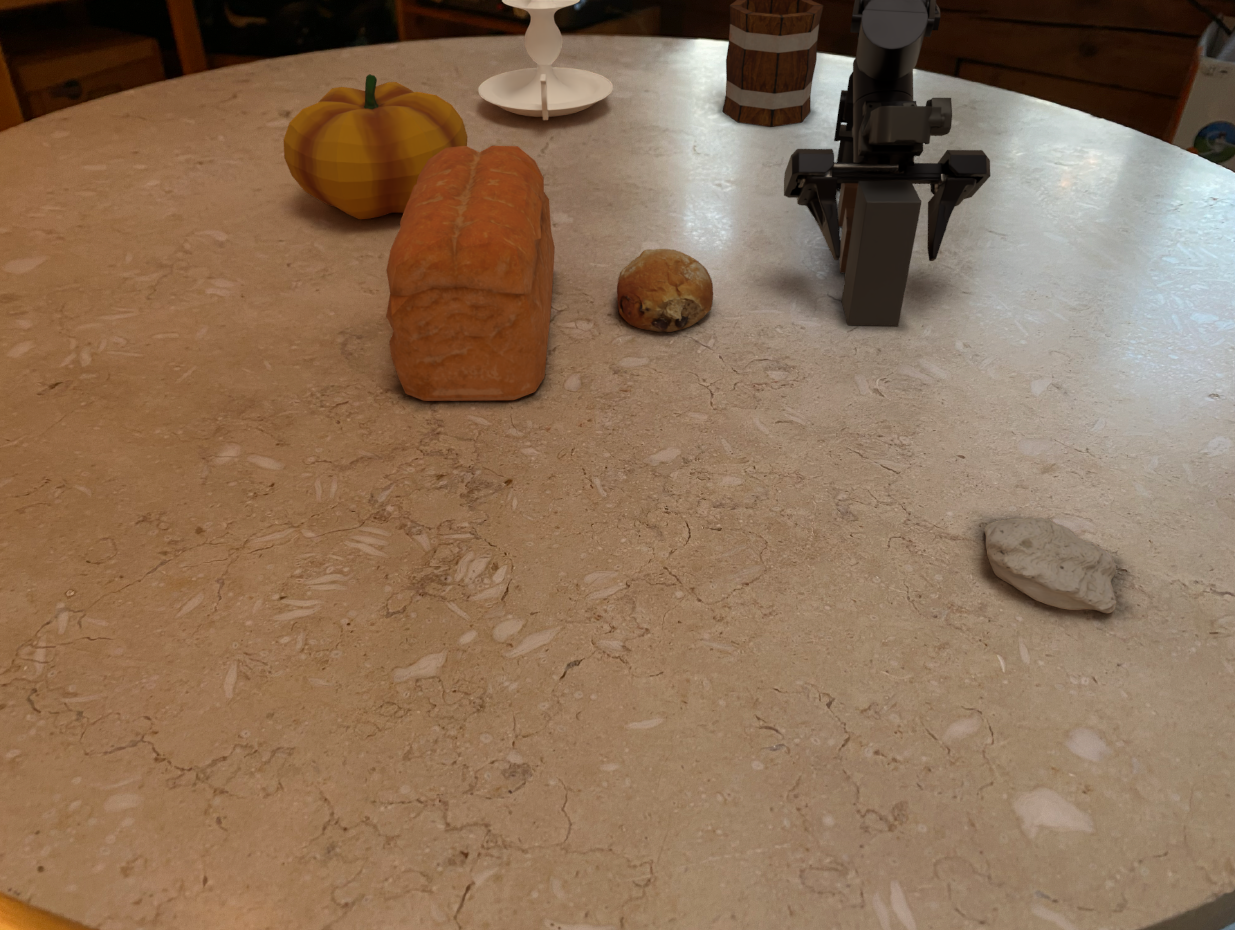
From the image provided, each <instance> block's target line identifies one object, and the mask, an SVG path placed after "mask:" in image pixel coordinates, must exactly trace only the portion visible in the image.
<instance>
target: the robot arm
mask: <svg viewBox="0 0 1235 930" xmlns="http://www.w3.org/2000/svg"><path fill="white" fill-rule="evenodd" d="M941 18H942V17H941V9H940V7H939V6H938V4H937V0H854V3H853V10H852V13H851V22H850V28H849V32H850V33H855V34H856V33H857V35H856V36H857V37H856V38H857V48H856V56H855V58H854V59H853V61H852V72H851V73H850V75H849V77H848V82H847V89H841V90H840V96H839V102H838V109H837V117H836V125H835V131H834V138H833V142H839V144H838V145H839V146H838V152H837V159H836V162H835V153H834V150H833V148H796V149H795V150H794V151H793V153H792V154H791V155H790V157H789V159H788V161H787V164H786V168H785V170H784V175H783V196H784V197H786V198H788V199H789V198H790V199H793V198H794V199H796V204H797V205H798V206H804V207H806V208H807V210H808V212H809V213H810V214H811V216H812V217H813V219H814V221H815V223H816V224H817V226H818V227H819V229H820V232H821V234H822V236H823V238H824V241H825V243H826V245H827V248H828V250H829V252H830V254H831V257H832V260H834V261H839V258H840V240H841V233H840V232H841V231H840V227H839V221H838V201H837V195H838V192H837V191H838V190H839V191H840V189H841V183H858V182H859V181H911V182H912V184H913V185H930V186H929V187H930V193H931V194H932V197H931V198H930V199H929V200H928V202H927V239H926V240H927V244H926V245H927V246H926V247H927V248H926V249H927V255H928V261H929V262H935V260H936V259H937V257H938V254H939V251H940V248H941V245H942V243H943V239H944V236H945V233H946V230H947V228H948V223H949V221H950V218H951V216H952V214H953V211H954V209H955V207H958V206H959V205H960V204H961V203H962V202H964V200H966V199H970V198H972V197H974V195H976V193H977V192H978V191H979V190H980V188H981V187H983V185H984V184H985V183H986V182H987V181H988V180H989V179H990V177H991V160H990V158H989V157H988V156H987V154H986V153H985V152H984V150H983V149H947V150H946V151H945V152H944V154H943V155H942V156H941V157H940V159H939V160H938V162H915V157H920V156H921V155H922V153H924V144H925V145H929V144H930V143H931V137H942V136H943V137H944V136H946V135H949V134H950V132H951V129H952V121H953V108H952V107H953V104H952V97H932V98H929V99H927V100H926V103H925V105H918V104H917V100H914V69H915V67H916V66H917V64H918V60H919V56H920V54H921V49H922V46H923V42H924V37H925V38H931V36H932V33H933V31H939V27H940V22H941Z"/></svg>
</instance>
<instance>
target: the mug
mask: <svg viewBox="0 0 1235 930" xmlns="http://www.w3.org/2000/svg"><path fill="white" fill-rule="evenodd" d="M728 7H729V35H728V45H727V52H726V57H725V75H726V76H725V77H726V79H725V80H726V81H725V96H724V101H723V106H722V113H723V114H725V115H726V116H728V117H729V118H731V119H732V120H734V121H735V122H737V123H739V124H740V123H741V124H746V125H747V124H748V125H754V126H762V127H767V128H773V127H780V126H788V125H794V124H801V123H803V122H804V120H805V119H806V118H807V117H808V116H809V114H810V113H811V107H812V106H811V105H812V104H811V102H812V101H811V99H812V98H811V96H812V87H813V79H814V75H815V69H816V66H817V65H816V64H817V58H818V57H817V55H818V37H819V29H820V22H821V17H822V14H823V10H824V5H823V4H821V3H819V2H816V1H813V0H735V1H733V2H732V3H731V4H730V5H728Z"/></svg>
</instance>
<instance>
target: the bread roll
mask: <svg viewBox="0 0 1235 930" xmlns="http://www.w3.org/2000/svg"><path fill="white" fill-rule="evenodd" d="M617 279H618V280H617V285H616V299H617V308H618V313H619V315H620V316H621V317H622V318H623V320H624V321H625V322H626V323H627V324H628V325H631V326H632V327H634V328H637V329H641V330H646V331H650V332H651V331H652V332H656V333H661V332H665V333H666V332H667V333H671V332H676V331H681V330H684V329H687V328H690V327H692V326H693V325H695V324H696V323H698V322H699V321H701V320H703V319H704V318H705V317H706V316H707V314H709V312H711V310H712V306H713V301H714V283H713V280H712V277H711V275H710V273H709V271H708V269H707V268H706V267H705V265H703V264H702V263H701V262H700V261H699V260H697V259H696V258H694V257H692V256H690V255H689V254H686V253H685V252H683V251H681V250H680V251H679V250H676V249H670V248H655V249H652V248H651V249H643V250H642V252H641V253H640V255H638V256H636V257H635V258H634V259H633V260H632V261H630V263H628V264H627V265H626V266H624V267H623V269H622V270H621V271H620V272H619V275H618V278H617Z"/></svg>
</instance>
